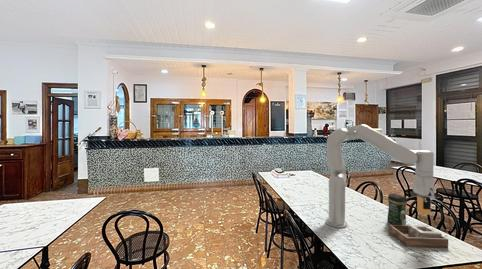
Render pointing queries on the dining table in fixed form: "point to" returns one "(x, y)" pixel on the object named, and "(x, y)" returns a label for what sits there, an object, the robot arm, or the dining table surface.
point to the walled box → (418, 236)
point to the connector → (420, 205)
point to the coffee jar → (397, 209)
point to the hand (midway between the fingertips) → (423, 207)
